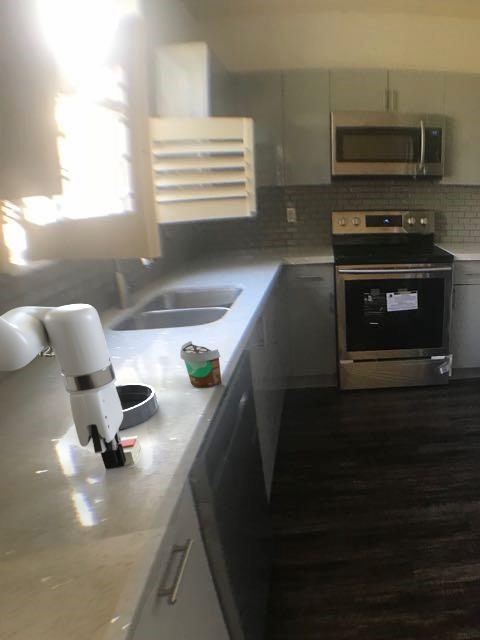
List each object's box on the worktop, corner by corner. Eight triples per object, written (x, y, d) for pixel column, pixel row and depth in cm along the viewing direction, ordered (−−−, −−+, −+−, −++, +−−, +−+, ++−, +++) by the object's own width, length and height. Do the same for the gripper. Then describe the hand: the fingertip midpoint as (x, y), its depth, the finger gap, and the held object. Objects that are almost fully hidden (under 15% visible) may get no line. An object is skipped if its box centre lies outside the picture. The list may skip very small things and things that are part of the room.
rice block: (105, 468, 87) (101, 454, 86) (113, 451, 92) (109, 437, 91) (134, 463, 88) (130, 449, 87) (141, 446, 94) (137, 433, 92)
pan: (75, 438, 97) (69, 419, 95) (96, 405, 110) (91, 388, 109) (152, 426, 101) (147, 408, 99) (163, 396, 114) (159, 380, 112)
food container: (176, 382, 121) (168, 347, 117) (196, 374, 126) (190, 340, 122) (204, 394, 115) (197, 357, 111) (225, 385, 119) (219, 349, 115)
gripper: (79, 362, 84) (105, 446, 91) (47, 399, 71) (80, 494, 78) (124, 357, 86) (146, 440, 93) (101, 392, 73) (128, 486, 80)
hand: (116, 465), depth 86 cm, fingers closed
